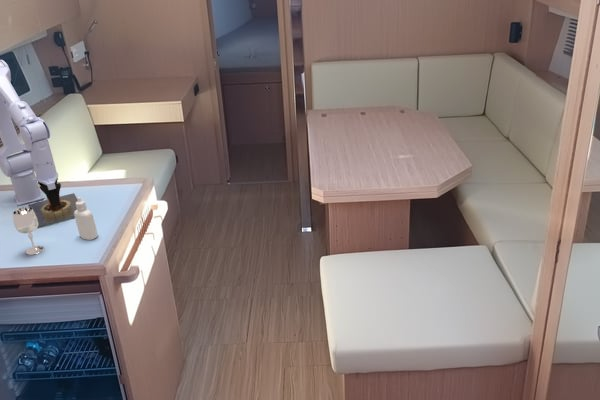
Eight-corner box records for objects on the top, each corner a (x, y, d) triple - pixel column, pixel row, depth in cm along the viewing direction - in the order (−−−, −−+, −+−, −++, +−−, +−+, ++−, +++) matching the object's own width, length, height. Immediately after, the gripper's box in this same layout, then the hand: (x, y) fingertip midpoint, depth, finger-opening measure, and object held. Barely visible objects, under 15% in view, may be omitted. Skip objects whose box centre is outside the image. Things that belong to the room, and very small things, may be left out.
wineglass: (21, 257, 147) (8, 217, 142) (25, 247, 152) (12, 208, 147) (45, 253, 148) (32, 213, 143) (47, 243, 153) (36, 204, 148)
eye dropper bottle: (95, 230, 159) (85, 192, 153) (99, 238, 154) (89, 199, 149) (79, 234, 157) (68, 196, 152) (82, 242, 152) (72, 203, 147)
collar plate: (28, 206, 176) (26, 200, 175) (74, 195, 182) (72, 188, 181) (36, 228, 162) (34, 221, 161) (85, 215, 168) (83, 207, 167)
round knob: (52, 205, 172) (48, 190, 170) (64, 204, 171) (60, 190, 169) (47, 210, 168) (43, 195, 166) (59, 210, 168) (55, 195, 166)
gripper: (25, 158, 167) (37, 198, 173) (31, 172, 156) (44, 215, 162) (50, 152, 171) (61, 193, 176) (58, 166, 159) (69, 209, 165)
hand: (54, 203), depth 169 cm, fingers closed on round knob, 4 cm apart
